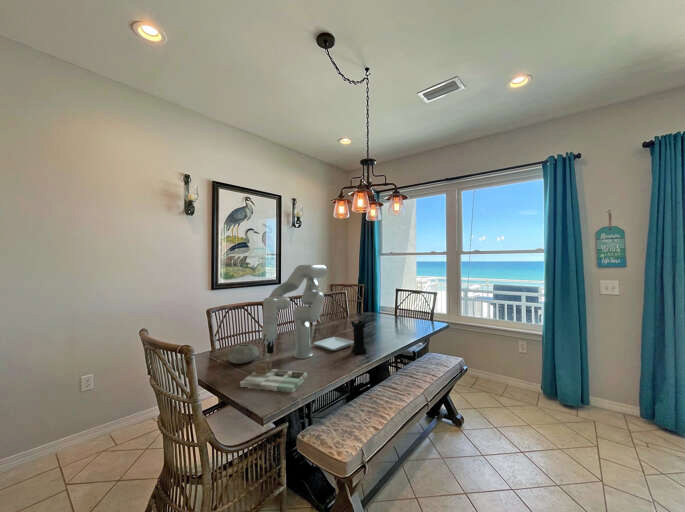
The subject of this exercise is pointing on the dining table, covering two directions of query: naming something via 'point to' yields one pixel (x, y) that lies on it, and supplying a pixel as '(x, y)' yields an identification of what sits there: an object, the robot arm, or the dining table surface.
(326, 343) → the salad plate
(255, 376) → the trap box
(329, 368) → the dining table surface
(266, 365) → the walnut block
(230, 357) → the grey stone
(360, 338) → the chess piece
